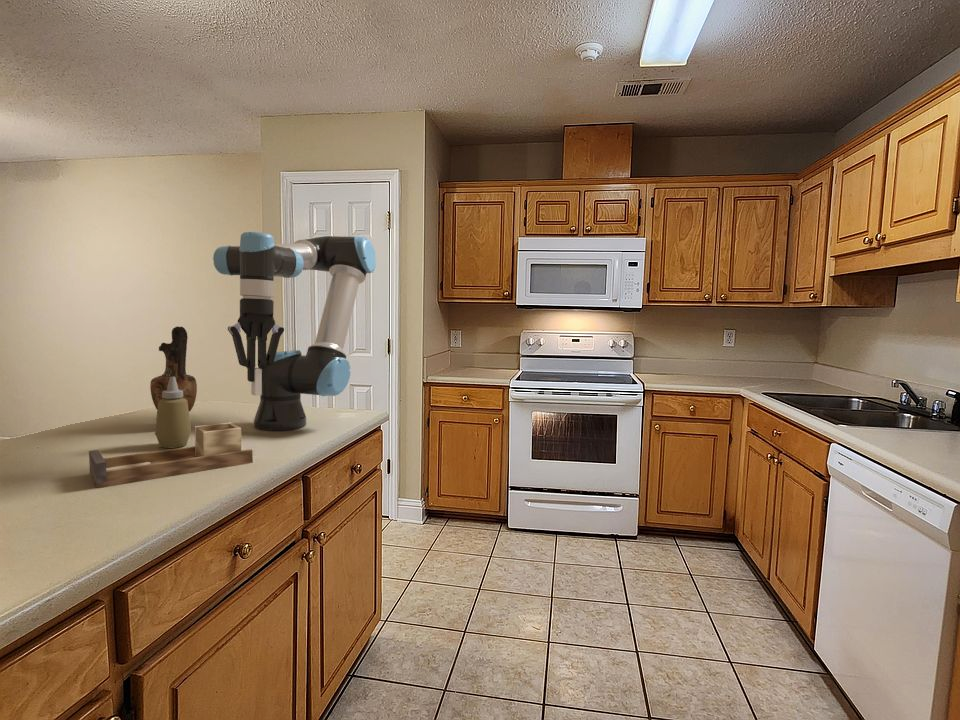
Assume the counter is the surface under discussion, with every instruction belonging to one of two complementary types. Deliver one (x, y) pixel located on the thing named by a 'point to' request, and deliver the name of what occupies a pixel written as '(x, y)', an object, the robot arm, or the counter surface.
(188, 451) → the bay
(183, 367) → the vase
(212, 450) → the crate
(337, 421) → the counter surface
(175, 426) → the squeeze bottle
